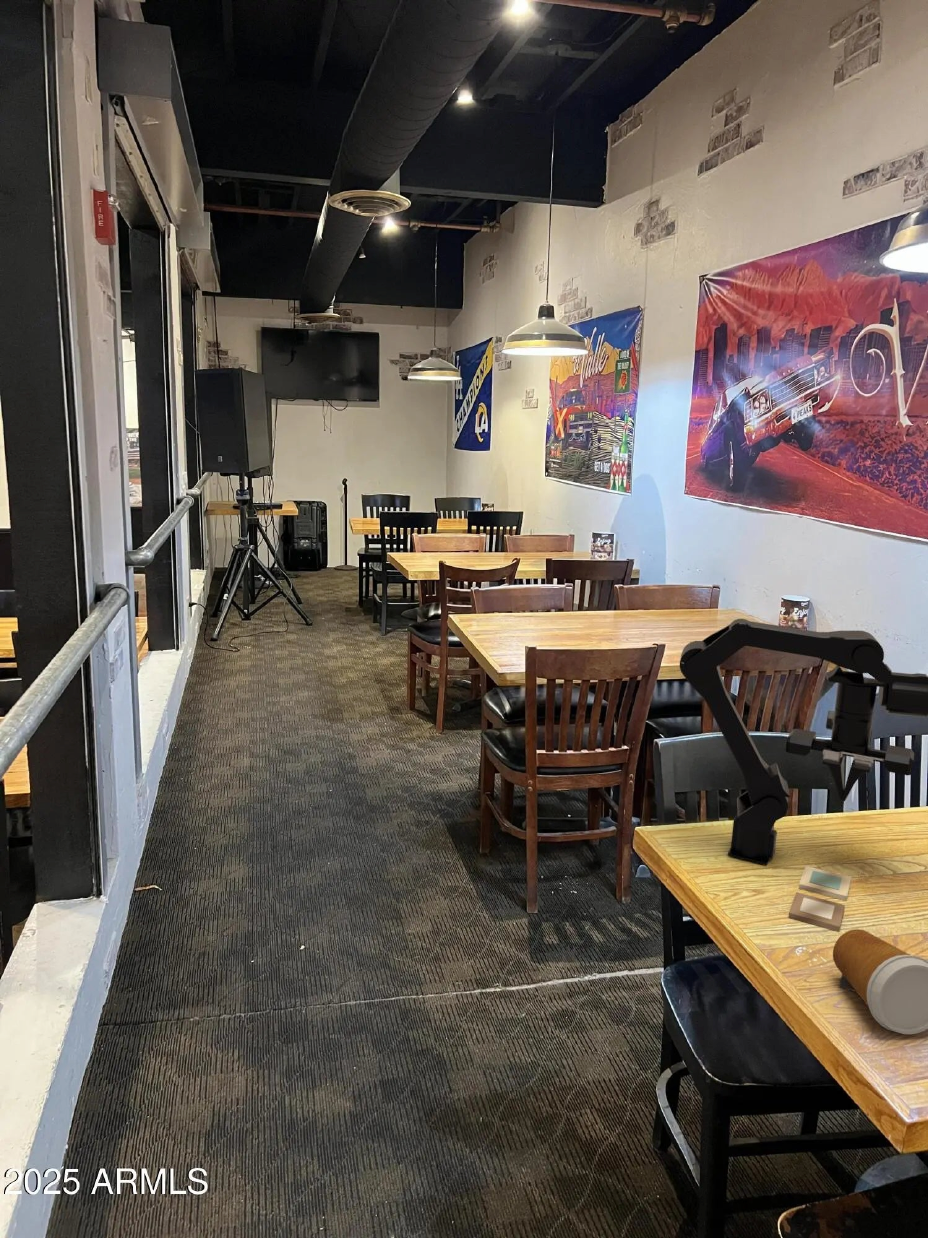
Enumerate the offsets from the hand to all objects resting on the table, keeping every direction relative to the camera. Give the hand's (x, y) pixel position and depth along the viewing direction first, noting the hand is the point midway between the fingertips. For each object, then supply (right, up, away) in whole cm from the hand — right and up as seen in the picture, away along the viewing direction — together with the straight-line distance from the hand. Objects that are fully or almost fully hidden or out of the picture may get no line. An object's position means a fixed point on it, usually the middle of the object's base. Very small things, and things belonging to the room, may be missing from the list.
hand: (842, 800), depth 139 cm
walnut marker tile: (-9, -14, -12) cm, 21 cm away
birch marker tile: (-5, -13, -4) cm, 14 cm away
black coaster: (-11, -18, -29) cm, 36 cm away
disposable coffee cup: (-11, -14, -28) cm, 33 cm away
